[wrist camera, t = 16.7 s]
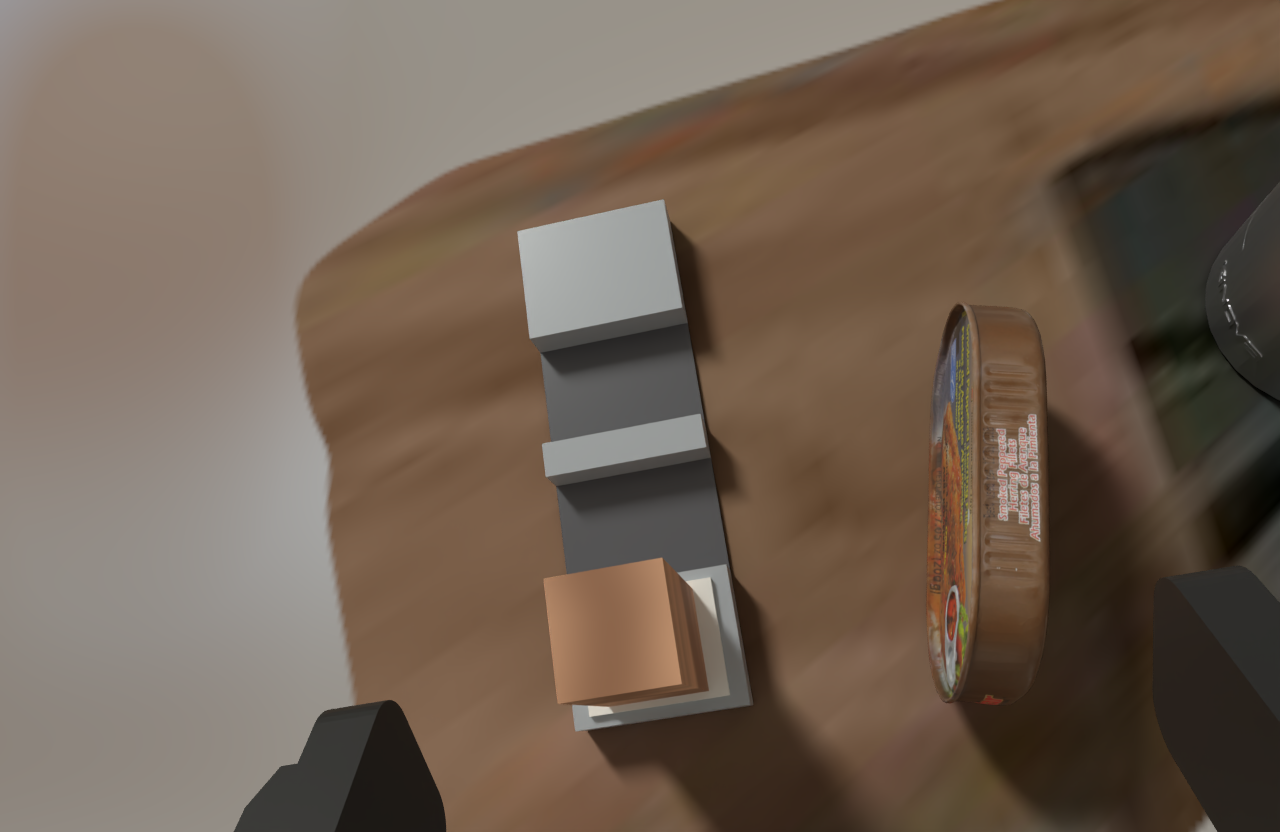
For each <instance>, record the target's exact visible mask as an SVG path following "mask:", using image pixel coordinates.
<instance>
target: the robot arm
mask: <svg viewBox="0 0 1280 832" xmlns="http://www.w3.org/2000/svg"><path fill="white" fill-rule="evenodd" d="M1205 309H1206V313H1207V318H1208V322H1209V326H1210V330H1211V332H1212V334H1213V336H1214V338H1215V340H1216V343H1217V345H1218V347H1219V349H1220V351H1221V352H1222V353H1223V354H1224V356H1225V357H1226V358H1227V360H1228V361H1229V362H1230V363H1231V365H1232V366H1233V367H1234V368H1235V370H1236V371H1238V372H1239V373H1240V374H1241V375H1242V376H1243V377H1245V378H1246V379H1247V380H1248V381H1249V382H1250V383H1252V384H1253V385H1254V386H1255V387H1257V388H1258V389H1260V390H1262V391H1264V392H1265V393H1267V394H1269V395H1271V396H1272V397H1274V398H1276V399H1277V400H1280V182H1279V183H1278V185H1277V186H1276V187H1275V188H1274V189H1273V190H1272V192H1271V193H1270V194H1269V195H1268V196H1267V197H1266V198H1265V199H1264V201H1263V202H1262V203H1261V204H1260V205H1259V206H1258V208H1257V209H1256V210H1255V211H1254V212H1253V213H1252V215H1251V216H1250V217H1249V218H1248V219H1247V220H1246V222H1245V223H1244V224H1243V225H1242V226H1241V227H1240V229H1239V230H1238V231H1237V232H1236V233H1235V234H1234V236H1233V237H1232V238H1231V239H1230V240H1229V241H1228V243H1227V244H1226V245H1225V246H1224V247H1223V248H1222V250H1221V252H1220V253H1219V255H1218V257H1217V258H1216V260H1215V262H1214V264H1213V265H1212V267H1211V270H1210V274H1209V278H1208V281H1207V285H1206V301H1205ZM1153 700H1154V706H1155V712H1156V716H1157V720H1158V723H1159V726H1160V729H1161V732H1162V735H1163V738H1164V740H1165V743H1166V745H1167V747H1168V749H1169V751H1170V753H1171V755H1172V757H1173V759H1174V760H1175V762H1176V764H1177V765H1178V767H1179V769H1180V770H1181V772H1182V774H1183V775H1184V777H1185V779H1186V780H1187V782H1188V784H1189V785H1190V787H1191V789H1192V790H1193V792H1194V794H1195V795H1196V797H1197V799H1198V800H1199V802H1200V804H1201V805H1202V807H1203V809H1204V810H1205V812H1206V814H1207V815H1208V817H1209V818H1210V820H1211V822H1212V823H1213V825H1214V827H1215V828H1216V830H1217V832H1280V603H1279V602H1278V601H1277V599H1276V598H1275V597H1274V596H1273V595H1272V594H1271V593H1270V592H1269V590H1268V589H1267V588H1266V587H1265V586H1264V585H1263V584H1262V583H1261V581H1260V580H1259V579H1258V578H1257V577H1256V576H1255V575H1254V574H1253V573H1252V572H1251V571H1250V570H1248V569H1247V568H1245V567H1243V566H1232V567H1226V568H1220V569H1214V570H1208V571H1201V572H1195V573H1189V574H1183V575H1177V576H1170V577H1164V578H1161V579H1159V580H1158V581H1157V583H1156V585H1155V590H1154V621H1153ZM234 832H446V819H445V812H444V807H443V802H442V799H441V796H440V793H439V791H438V789H437V786H436V784H435V782H434V780H433V777H432V775H431V773H430V771H429V768H428V766H427V764H426V762H425V759H424V757H423V755H422V753H421V750H420V748H419V746H418V744H417V742H416V739H415V737H414V735H413V733H412V730H411V728H410V726H409V724H408V721H407V719H406V717H405V715H404V713H403V711H402V709H401V708H400V706H399V705H398V704H397V703H396V702H394V701H392V700H386V701H380V702H374V703H368V704H362V705H356V706H349V707H343V708H337V709H331V710H327V711H324V712H323V713H322V714H321V715H320V716H319V717H318V719H317V720H316V722H315V724H314V727H313V729H312V731H311V734H310V736H309V738H308V741H307V743H306V746H305V748H304V750H303V753H302V755H301V757H300V759H299V761H298V764H293V765H286V766H281V767H280V768H279V769H278V770H277V771H276V773H275V774H274V775H273V776H272V777H271V778H270V780H269V781H268V782H267V783H266V784H265V785H264V786H263V788H262V789H261V790H260V791H259V792H258V793H257V795H256V796H255V797H254V798H253V799H252V800H251V801H250V803H249V804H248V805H247V806H246V807H245V809H244V811H243V813H242V815H241V817H240V820H239V822H238V824H237V826H236V829H235V831H234Z"/></svg>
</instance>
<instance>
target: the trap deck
mask: <svg viewBox="0 0 1280 832" xmlns="http://www.w3.org/2000/svg"><path fill="white" fill-rule="evenodd" d="M518 240H519V249H520V257H521V266H522V275H523V283H524V292H525V301H526V309H527V318H528V327H529V335H530V339H531V341H532V342H533V343H534V345H535V346H536V347H537V349H538V350H539V351H540V353H541V360H542V369H543V377H544V386H545V394H546V402H547V411H548V419H549V428H550V436H551V442H549V443H544V444H542V448H543V456H544V465H545V474H546V478H548V479H549V480H550V481H551V482H552V483H553V484H554V485H556V487H557V495H558V503H559V512H560V520H561V529H562V537H563V546H564V554H565V562H566V571H567V574H572V573H578V572H584V571H589V570H595V569H600V568H606V567H612V566H617V565H623V564H629V563H634V562H640V561H646V560H651V559H657V558H663V559H664V560H665V561H666V562H667V563H668V564H669V565H670V566H671V567H672V568H673V569H674V570H675V571H676V572H677V573H678V574H679V575H680V576H681V577H682V578H683V579H684V580H685V581H686V582H687V583H688V585H689V586H690V587H691V588H692V589H693V595H694V601H695V607H696V614H697V620H698V626H699V632H700V638H701V644H702V651H703V657H704V663H705V669H706V675H707V681H708V687H709V691H706V692H699V693H693V694H687V695H681V696H674V697H668V698H662V699H656V700H649V701H643V702H637V703H631V704H624V705H618V706H612V707H601V706H584V705H572V707H573V716H574V725H575V731H589V730H595V729H602V728H608V727H615V726H621V725H628V724H634V723H641V722H647V721H654V720H660V719H667V718H673V717H680V716H686V715H693V714H699V713H706V712H712V711H719V710H725V709H732V708H738V707H745V706H751V705H753V699H752V693H751V687H750V681H749V676H748V670H747V664H746V658H745V652H744V647H743V641H742V635H741V629H740V623H739V618H738V612H737V606H736V600H735V594H734V589H733V583H732V577H731V571H730V565H729V560H728V554H727V548H726V542H725V536H724V531H723V525H722V519H721V513H720V507H719V502H718V496H717V490H716V484H715V478H714V473H713V467H712V461H711V455H710V449H709V444H708V438H707V432H706V426H705V420H704V415H703V409H702V403H701V397H700V391H699V386H698V380H697V374H696V368H695V362H694V357H693V351H692V345H691V339H690V333H689V328H688V322H687V316H686V310H685V304H684V299H683V293H682V287H681V281H680V275H679V270H678V264H677V258H676V252H675V246H674V241H673V235H672V229H671V223H670V219H669V215H668V212H667V209H666V205H665V202H664V199H663V200H658V201H654V202H649V203H645V204H640V205H636V206H631V207H626V208H622V209H617V210H613V211H608V212H604V213H599V214H594V215H590V216H585V217H581V218H576V219H572V220H567V221H563V222H558V223H553V224H549V225H544V226H540V227H535V228H531V229H526V230H521V231H518Z"/></svg>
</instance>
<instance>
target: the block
mask: <svg viewBox="0 0 1280 832" xmlns="http://www.w3.org/2000/svg"><path fill="white" fill-rule="evenodd" d="M544 588H545V597H546V605H547V614H548V623H549V632H550V640H551V649H552V658H553V667H554V675H555V684H556V693H557V702H558V704H567V705H584V706H601V707H612V706H618V705H624V704H631V703H637V702H643V701H649V700H656V699H662V698H668V697H674V696H681V695H687V694H693V693H699V692H706V691H709V687H708V681H707V675H706V669H705V663H704V657H703V651H702V644H701V638H700V632H699V626H698V620H697V614H696V607H695V601H694V595H693V589H692V588H691V587H690V586H689V585H688V583H687V582H686V581H685V580H684V579H683V578H682V577H681V576H680V575H679V574H678V573H677V572H676V571H675V570H674V569H673V568H672V567H671V566H670V565H669V564H668V563H667V562H666V561H665V560H664V559H663V558H657V559H651V560H646V561H640V562H634V563H629V564H623V565H617V566H612V567H606V568H600V569H595V570H589V571H584V572H578V573H572V574H567V575H561V576H555V577H550V578H544Z"/></svg>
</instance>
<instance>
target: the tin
mask: <svg viewBox="0 0 1280 832" xmlns="http://www.w3.org/2000/svg"><path fill="white" fill-rule="evenodd" d="M1047 421H1048V417H1047V389H1046V368H1045V358H1044V351H1043V345H1042V340H1041V335H1040V332H1039V330H1038V327H1037V325H1036V322H1035V321H1034V319H1033V318H1032V316H1031V315H1030V314H1029V313H1028V312H1026V311H1024V310H1022V309H1017V308H1010V307H997V306H976V305H968V304H967V303H964V302H958V303H956V304H955V305H954V307H953V308H952V310H951V311H950V313H949V316H948V319H947V322H946V325H945V328H944V332H943V336H942V340H941V345H940V349H939V354H938V359H937V364H936V369H935V375H934V381H933V390H932V401H931V421H930V438H929V490H928V491H929V499H928V544H927V597H926V615H927V636H928V650H929V660H930V667H931V671H932V677H933V680H934V684H935V688H936V690H937V692H938V694H939V696H940V698H941V700H942V701H943V702H945V703H953V702H954V701H963V702H973V703H982V704H992V705H1010V704H1012V703H1014V702H1016V701H1017V700H1019V699H1020V698H1021V697H1023V696H1024V695H1025V694H1026V693H1027V692H1028V691H1029V690H1030V688H1031V687H1032V685H1033V683H1034V680H1035V678H1036V675H1037V673H1038V669H1039V666H1040V662H1041V659H1042V655H1043V650H1044V645H1045V639H1046V633H1047V624H1048V611H1049V598H1050V518H1049V469H1048V427H1047Z"/></svg>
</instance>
